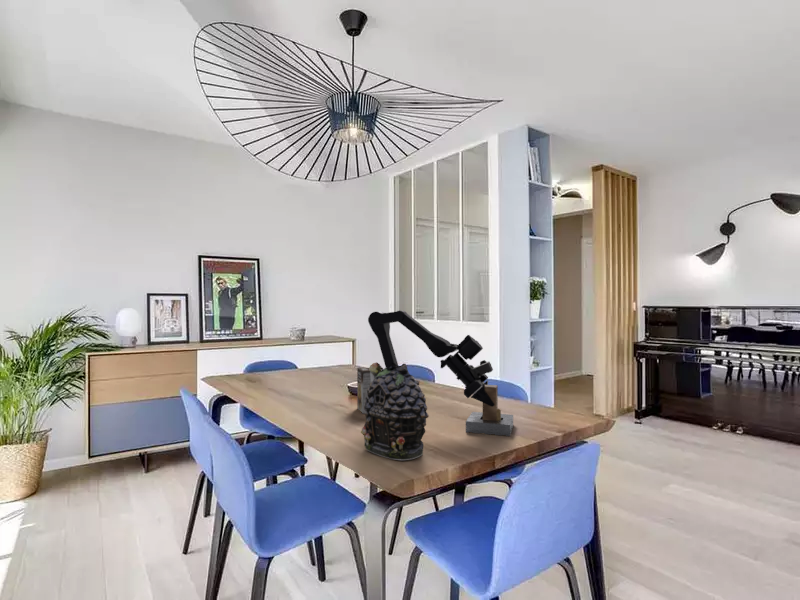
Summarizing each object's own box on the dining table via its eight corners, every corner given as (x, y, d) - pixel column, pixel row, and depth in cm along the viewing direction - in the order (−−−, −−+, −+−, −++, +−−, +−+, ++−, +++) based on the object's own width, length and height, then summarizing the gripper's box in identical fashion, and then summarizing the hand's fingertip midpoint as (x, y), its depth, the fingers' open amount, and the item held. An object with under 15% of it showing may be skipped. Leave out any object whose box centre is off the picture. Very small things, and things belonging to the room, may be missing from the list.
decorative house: (348, 450, 126) (349, 361, 126) (385, 438, 137) (385, 357, 138) (404, 468, 112) (405, 368, 112) (440, 453, 123) (440, 362, 124)
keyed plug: (482, 424, 148) (482, 386, 148) (484, 421, 152) (484, 384, 152) (499, 426, 146) (500, 387, 146) (501, 422, 150) (501, 385, 150)
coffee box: (356, 408, 178) (356, 367, 178) (372, 407, 180) (372, 367, 180) (361, 413, 169) (361, 370, 169) (378, 412, 171) (378, 370, 171)
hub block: (465, 432, 145) (465, 421, 145) (472, 421, 158) (472, 411, 158) (510, 436, 140) (510, 425, 140) (513, 425, 154) (513, 414, 154)
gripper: (474, 355, 142) (509, 393, 138) (482, 350, 160) (513, 383, 156) (449, 379, 144) (484, 416, 141) (460, 371, 162) (490, 404, 158)
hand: (494, 404), depth 149 cm, fingers closed on keyed plug, 4 cm apart
